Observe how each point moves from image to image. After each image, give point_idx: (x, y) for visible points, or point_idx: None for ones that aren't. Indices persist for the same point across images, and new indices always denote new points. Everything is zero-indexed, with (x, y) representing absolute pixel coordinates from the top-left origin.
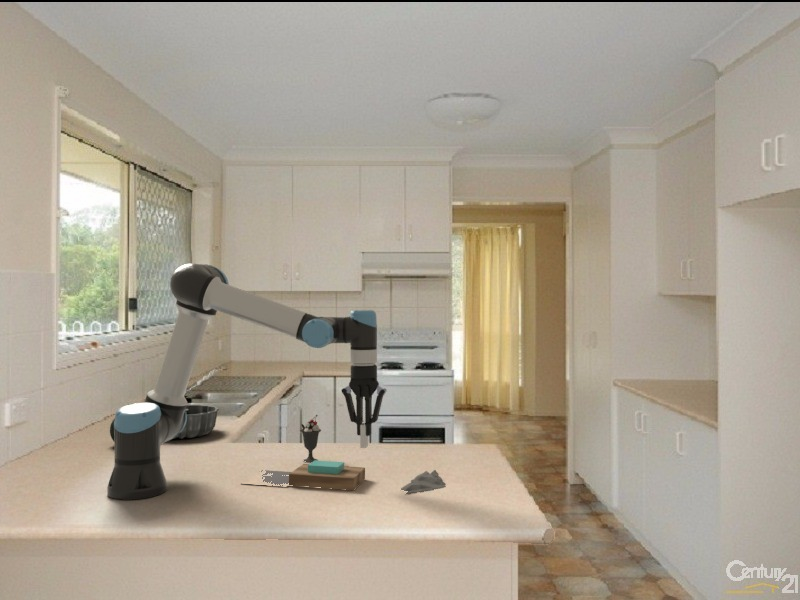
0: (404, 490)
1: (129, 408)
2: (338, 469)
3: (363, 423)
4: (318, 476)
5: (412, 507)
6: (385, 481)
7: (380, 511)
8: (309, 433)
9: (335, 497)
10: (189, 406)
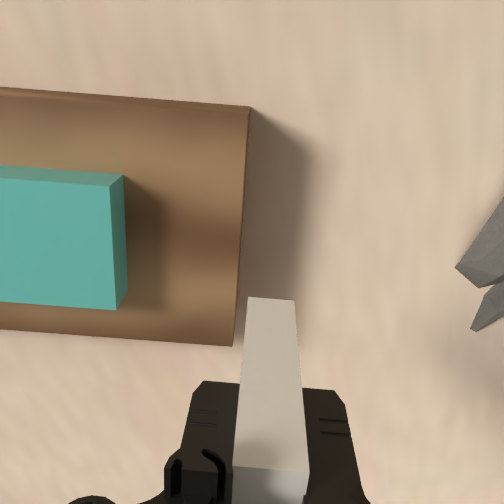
0: (477, 281)
1: None
2: (120, 292)
3: (247, 484)
4: (42, 330)
5: (493, 455)
6: (374, 125)
7: (378, 497)
8: None
9: (184, 394)
10: None
